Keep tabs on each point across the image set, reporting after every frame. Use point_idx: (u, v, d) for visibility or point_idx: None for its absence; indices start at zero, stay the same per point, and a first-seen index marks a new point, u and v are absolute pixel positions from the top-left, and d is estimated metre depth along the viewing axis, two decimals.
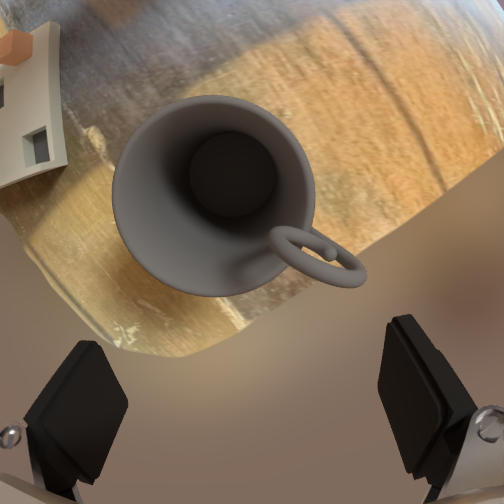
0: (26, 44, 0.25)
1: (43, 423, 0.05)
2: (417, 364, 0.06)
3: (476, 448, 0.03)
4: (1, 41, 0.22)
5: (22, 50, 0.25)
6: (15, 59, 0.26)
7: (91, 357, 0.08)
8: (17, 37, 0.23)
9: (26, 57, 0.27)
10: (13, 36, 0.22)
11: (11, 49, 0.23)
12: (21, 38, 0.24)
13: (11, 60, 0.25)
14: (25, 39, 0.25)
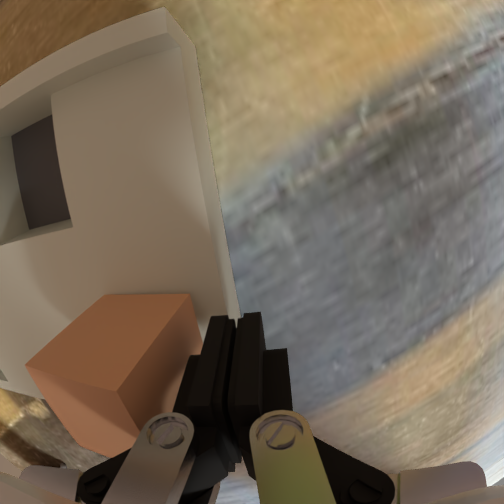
0: None
1: (212, 405, 0.06)
2: (236, 357, 0.07)
3: (271, 460, 0.04)
4: (113, 420, 0.06)
5: None
6: None
7: (232, 331, 0.09)
8: None
9: None
10: None
11: (84, 447, 0.08)
12: None
13: None
14: None
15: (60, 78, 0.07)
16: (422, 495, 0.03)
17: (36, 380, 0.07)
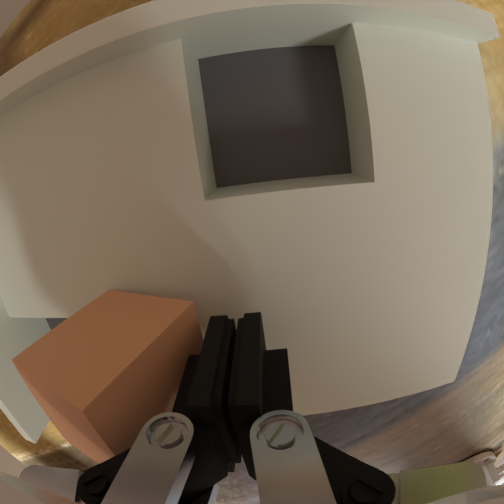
0: None
1: (212, 405, 0.06)
2: (237, 357, 0.07)
3: (271, 460, 0.04)
4: (87, 433, 0.06)
5: None
6: None
7: (232, 331, 0.09)
8: None
9: None
10: None
11: (71, 443, 0.08)
12: None
13: None
14: None
15: (403, 15, 0.06)
16: (423, 494, 0.03)
17: (22, 376, 0.07)
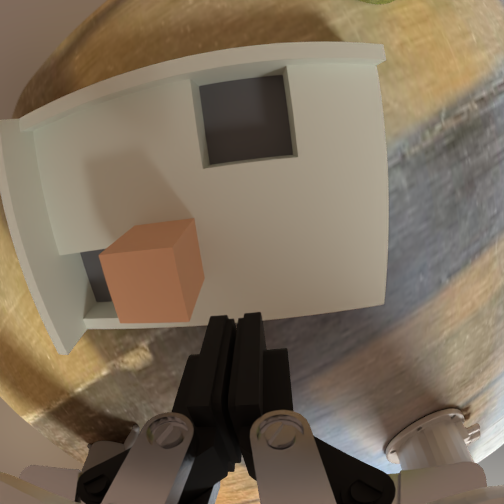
0: None
1: (212, 405, 0.06)
2: (236, 357, 0.07)
3: (271, 460, 0.04)
4: (162, 274, 0.14)
5: None
6: None
7: (232, 331, 0.09)
8: None
9: None
10: (164, 320, 0.15)
11: None
12: None
13: None
14: None
15: (313, 59, 0.13)
16: (423, 494, 0.03)
17: (105, 265, 0.14)
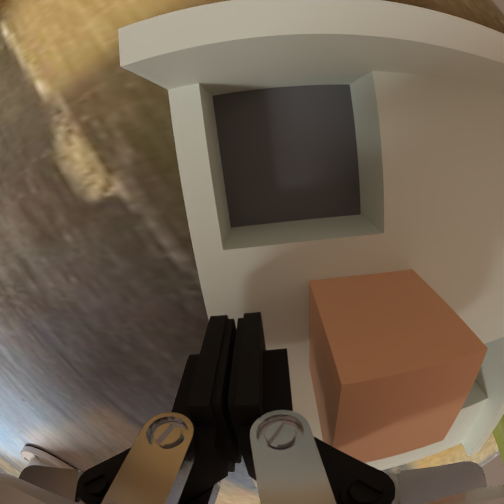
0: (315, 350, 0.10)
1: (212, 405, 0.06)
2: (236, 357, 0.07)
3: (271, 460, 0.04)
4: (416, 439, 0.07)
5: (320, 336, 0.08)
6: (382, 303, 0.08)
7: (232, 331, 0.09)
8: (325, 418, 0.08)
9: (334, 285, 0.10)
10: (330, 441, 0.07)
11: (340, 391, 0.06)
12: (321, 396, 0.08)
13: (403, 309, 0.08)
14: (316, 376, 0.09)
15: (487, 422, 0.13)
16: (423, 495, 0.03)
17: (469, 361, 0.06)
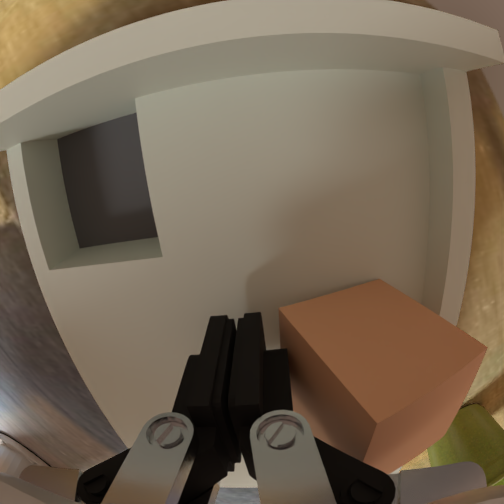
0: (300, 382, 0.08)
1: (212, 405, 0.06)
2: (237, 357, 0.07)
3: (271, 460, 0.04)
4: (425, 443, 0.06)
5: (315, 370, 0.07)
6: (370, 322, 0.08)
7: (232, 331, 0.09)
8: None
9: (310, 309, 0.09)
10: None
11: (374, 429, 0.05)
12: (319, 429, 0.07)
13: (393, 325, 0.08)
14: (304, 407, 0.08)
15: None
16: (423, 495, 0.03)
17: (474, 363, 0.06)
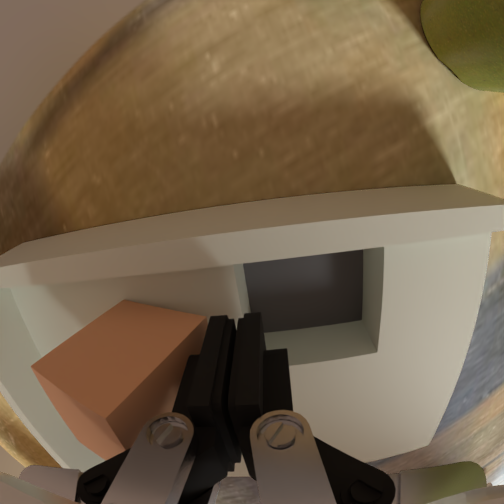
0: None
1: (212, 405, 0.06)
2: (237, 357, 0.07)
3: (271, 460, 0.04)
4: (105, 437, 0.06)
5: None
6: None
7: (232, 331, 0.09)
8: None
9: None
10: None
11: (83, 444, 0.08)
12: None
13: None
14: None
15: None
16: (422, 494, 0.03)
17: (40, 382, 0.07)
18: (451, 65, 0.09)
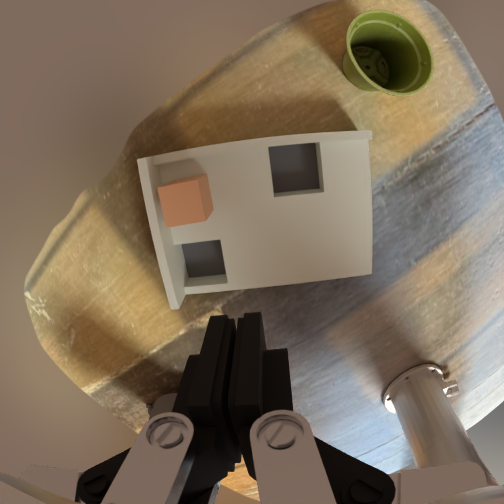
0: None
1: (212, 405, 0.06)
2: (237, 357, 0.07)
3: (271, 460, 0.04)
4: (192, 194, 0.27)
5: None
6: None
7: (232, 331, 0.09)
8: None
9: None
10: None
11: (168, 227, 0.29)
12: None
13: None
14: None
15: (334, 141, 0.29)
16: (422, 494, 0.03)
17: (160, 193, 0.27)
18: (353, 83, 0.29)
